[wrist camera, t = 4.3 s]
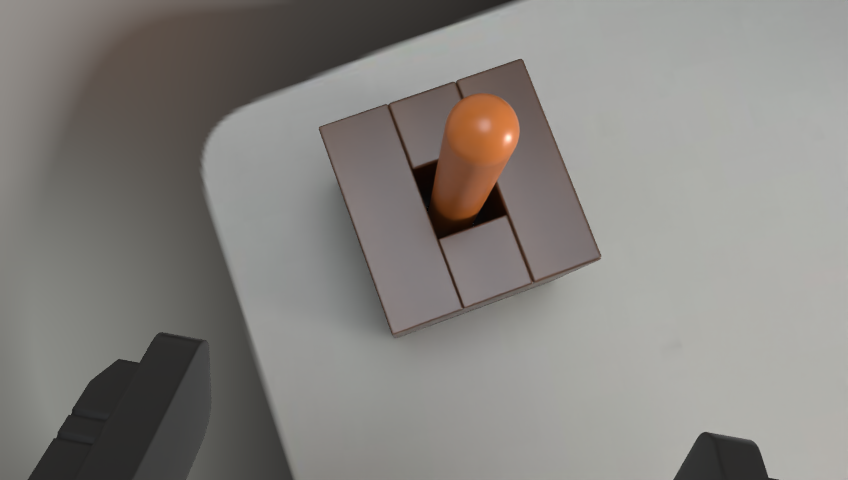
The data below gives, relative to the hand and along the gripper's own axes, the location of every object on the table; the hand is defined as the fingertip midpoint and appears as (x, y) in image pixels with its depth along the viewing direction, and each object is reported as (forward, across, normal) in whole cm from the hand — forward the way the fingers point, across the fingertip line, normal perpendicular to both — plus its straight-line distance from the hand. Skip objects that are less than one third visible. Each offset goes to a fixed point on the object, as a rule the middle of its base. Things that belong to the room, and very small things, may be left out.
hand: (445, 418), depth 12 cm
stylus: (+15, 0, +7) cm, 17 cm away
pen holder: (+15, 0, +7) cm, 17 cm away
